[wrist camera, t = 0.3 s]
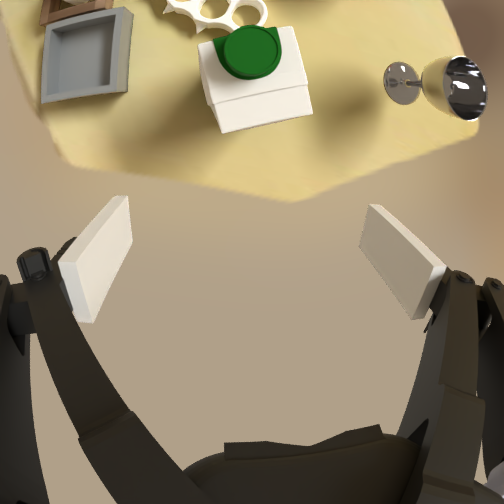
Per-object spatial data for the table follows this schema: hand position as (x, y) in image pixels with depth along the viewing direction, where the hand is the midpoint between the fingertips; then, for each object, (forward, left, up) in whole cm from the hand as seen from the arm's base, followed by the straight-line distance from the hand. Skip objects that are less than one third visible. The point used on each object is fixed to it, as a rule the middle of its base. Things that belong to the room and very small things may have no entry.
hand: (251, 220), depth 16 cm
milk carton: (-8, +1, -28) cm, 29 cm away
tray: (-13, -21, -27) cm, 37 cm away
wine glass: (-13, +25, -28) cm, 39 cm away
